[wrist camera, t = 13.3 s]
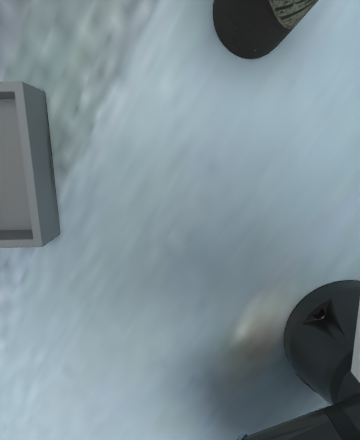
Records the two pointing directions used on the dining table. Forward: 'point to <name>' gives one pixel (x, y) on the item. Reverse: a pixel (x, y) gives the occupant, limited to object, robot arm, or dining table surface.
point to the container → (257, 23)
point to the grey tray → (26, 169)
